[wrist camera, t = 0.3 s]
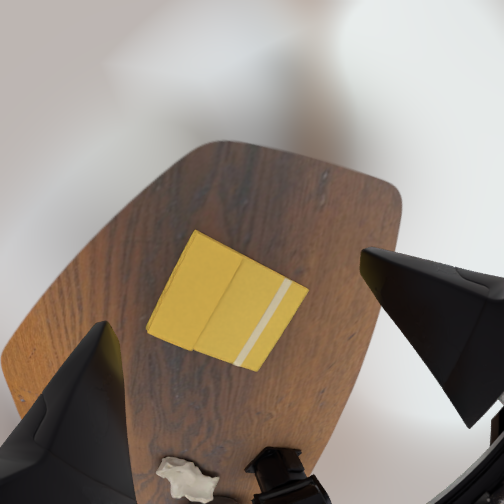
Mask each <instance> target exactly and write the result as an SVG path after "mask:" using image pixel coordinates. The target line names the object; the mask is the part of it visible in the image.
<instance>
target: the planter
mask: <svg viewBox="0 0 504 504" xmlns="http://www.w3.org/2000/svg"><path fill="white" fill-rule="evenodd" d="M213 498H214V499H213V500H211V501H209V502H207V503H205V504H238V503H237V502H236V501H234V500H233V499H231V498H227V497H213ZM190 504H204V503H202V502H198V501H192V502H191V503H190Z"/></svg>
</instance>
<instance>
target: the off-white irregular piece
mask: <svg viewBox="0 0 504 504" xmlns="http://www.w3.org/2000/svg"><path fill="white" fill-rule="evenodd" d="M156 473H157V475H159V476H161V477H162V478H167V479H168V480H169V481H170V483H171V496H172V497H173V498H181V497H183V496H185V497H186V498H188V499H189V500H190V501H198V502H202V503H204V504H205V503H207V502H209V501H211V500H213V499H214V498H213V491H214V488H215V486H217V485H216V484H217V482H218V479H219V478H220V477H214V478H211V477H209V476H204V475H203V474H202V473H201V471H200V470H199V468H198V467H197V466H194V463H193V462H188V461H185V460H184V459H178V458H176V457H166V458H162V463H161V464H160V466H159V468H158V469H157V471H156Z"/></svg>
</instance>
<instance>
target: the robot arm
mask: <svg viewBox="0 0 504 504" xmlns="http://www.w3.org/2000/svg"><path fill="white" fill-rule="evenodd" d="M360 273H361V276H362V277H363V279H364V280H365V282H366V283H367V285H368V286H369V288H370V289H371V291H372V292H373V294H374V295H375V297H376V299H377V300H378V302H379V303H380V305H381V306H382V307H383V309H384V310H385V311H386V312H387V314H388V315H389V316H390V318H391V319H392V320H393V321H394V323H395V324H396V325H397V326H398V328H399V329H400V330H401V332H402V333H403V334H404V336H405V337H406V338H407V340H408V341H409V342H410V344H411V345H412V346H413V348H414V349H415V350H416V352H417V353H418V355H419V356H420V357H421V359H422V360H423V361H424V363H425V364H426V365H427V367H428V368H429V370H430V371H431V373H432V374H433V376H434V377H435V378H436V380H437V381H438V383H439V384H440V386H441V387H442V389H443V390H444V392H445V393H446V395H447V396H448V398H449V399H450V401H451V402H452V404H453V405H454V407H455V409H456V410H457V412H458V413H459V415H460V416H461V418H462V419H463V421H464V423H465V424H466V426H467V427H468V428H469V429H470V428H471V427H472V426H473V425H474V424H475V423H476V422H477V421H478V420H479V419H480V418H481V417H482V416H483V415H484V414H485V413H486V412H487V411H488V410H489V409H490V408H491V407H492V406H493V404H494V403H495V402H496V401H497V400H499V401H500V402H501V403H502V404H503V405H504V278H502V277H497V276H493V275H488V274H483V273H478V272H474V271H469V270H466V269H462V268H458V267H453V266H450V265H446V264H442V263H437V262H434V261H430V260H425V259H422V258H417V257H414V256H409V255H405V254H401V253H396V252H393V251H388V250H384V249H380V248H375V247H368V248H365V249H363V250H362V251H361V256H360ZM301 453H302V452H301V450H295V449H283V448H274V447H266V448H265V449H264V450H263V451H262V452H261V453H260V454H259V455H258V456H257V457H256V458H255V459H254V460H253V461H252V462H251V463H250V464H249V465H248V466H247V467H246V468H245V472H246V473H255V476H256V479H257V481H258V484H259V487H260V490H261V492H262V493H260V494H254V499H252V500H251V501H252V504H332V503H331V500H330V498H329V496H328V494H327V492H326V491H325V489H324V488H323V487H322V485H321V484H320V482H319V481H318V480H317V478H316V476H315V475H314V474H313V475H311V476H310V477H306V475H305V473H304V470H305V469H304V467H303V465H302V463H301V461H300V459H299V457H298V456H299V455H300V454H301ZM0 504H137V501H136V496H135V491H134V485H133V479H132V472H131V465H130V457H129V448H128V438H127V427H126V412H125V389H124V377H123V370H122V361H121V352H120V344H119V340H118V338H117V336H116V334H115V333H114V331H113V329H112V327H111V326H110V324H109V323H108V322H107V321H102V322H98V323H96V324H95V325H94V326H93V327H92V328H91V330H90V331H89V332H88V333H87V334H86V336H85V337H84V338H83V339H82V341H81V342H80V343H79V344H78V346H77V347H76V348H75V349H74V351H73V352H72V353H71V354H70V356H69V357H68V358H67V360H66V361H65V362H64V363H63V365H62V366H61V367H60V369H59V370H58V371H57V373H56V374H55V375H54V377H53V378H52V379H51V381H50V382H49V383H48V385H47V386H46V387H45V389H44V390H43V392H42V394H40V396H39V397H38V399H37V400H36V401H35V403H34V404H33V406H32V407H31V408H30V410H29V411H28V412H27V414H26V415H25V416H24V418H23V419H22V420H21V422H20V423H19V424H18V426H17V427H16V428H15V429H14V430H13V432H12V433H11V434H10V435H9V437H8V438H7V439H6V441H5V442H4V443H3V445H2V446H1V447H0ZM427 504H504V406H503V407H502V408H501V409H500V410H499V412H498V413H497V414H496V415H495V416H494V417H493V418H492V420H491V437H490V447H489V449H487V451H486V452H485V453H484V454H483V455H482V456H481V457H480V458H479V459H478V460H477V461H476V462H475V463H474V464H473V465H472V466H471V467H470V468H468V469H467V470H466V471H465V472H464V473H463V474H462V475H461V476H460V477H459V478H458V479H457V480H455V481H454V482H453V483H452V484H451V485H450V486H448V487H447V488H446V489H445V490H443V491H442V492H441V493H440V494H438V495H437V496H436V497H435V498H433V499H432V500H431V501H429V502H428V503H427Z"/></svg>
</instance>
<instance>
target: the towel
mask: <svg viewBox="0 0 504 504" xmlns="http://www.w3.org/2000/svg"><path fill="white" fill-rule="evenodd" d="M308 291H309V290H308V289H307V288H306V287H304V286H302V285H300V284H298V283H296V282H294V281H292V280H290V279H289V278H287V277H285V276H283V275H281V274H279V273H277V272H275V271H273V270H271V269H269V268H267V267H266V266H264V265H262V264H260V263H258V262H256V261H254V260H252V259H250V258H248V257H246V256H245V255H243V254H241V253H239V252H237V251H235V250H233V249H231V248H229V247H227V246H226V245H224V244H222V243H220V242H218V241H216V240H214V239H212V238H210V237H208V236H207V235H205V234H203V233H201V232H199V231H197V230H194V232H193V233H192V235H191V237H190V239H189V241H188V243H187V245H186V247H185V248H184V250H183V252H182V254H181V256H180V258H179V260H178V262H177V264H176V266H175V268H174V270H173V272H172V274H171V276H170V278H169V280H168V282H167V284H166V286H165V288H164V290H163V292H162V294H161V296H160V298H159V300H158V302H157V304H156V306H155V309H154V311H153V313H152V315H151V317H150V319H149V321H148V324H147V326H146V330H148V332H147V333H149V334H151V335H153V336H155V337H158V338H160V339H162V340H165V341H167V342H169V343H172V344H174V345H177V346H179V347H182V348H184V349H187V350H189V351H192V349H194V350H196V351H199V352H201V353H204V354H207V355H209V356H212V357H215V358H218V359H220V360H223V361H226V362H229V363H232V364H233V365H236V366H239V367H240V366H241V367H244V368H247V369H250V370H253V371H256V372H257V371H258V370H259V368H260V367H261V365H262V364H263V362H264V361H265V359H266V358H267V356H268V355H269V353H270V352H271V350H272V348H273V347H274V345H275V344H276V342H277V341H278V339H279V338H280V336H281V335H282V333H283V331H284V330H285V328H286V327H287V325H288V323H289V322H290V320H291V319H292V317H293V315H294V314H295V312H296V311H297V309H298V307H299V306H300V304H301V302H302V301H303V299H304V297H305V296H306V294H307V292H308Z"/></svg>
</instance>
